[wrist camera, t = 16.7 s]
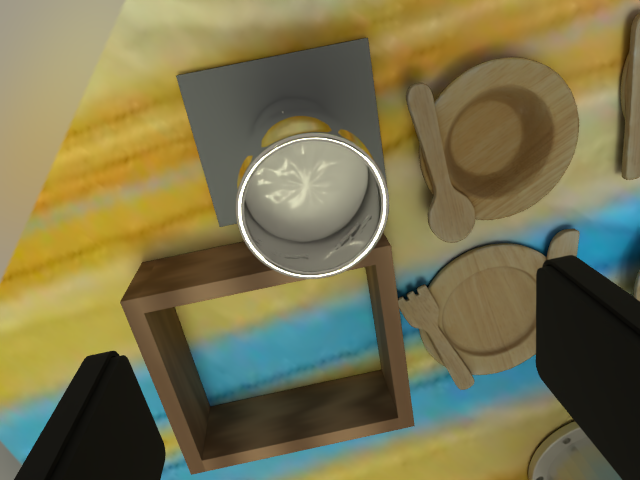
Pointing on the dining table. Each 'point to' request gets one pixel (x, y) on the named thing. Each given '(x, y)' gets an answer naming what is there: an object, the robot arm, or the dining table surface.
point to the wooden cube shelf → (272, 409)
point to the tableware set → (498, 201)
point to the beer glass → (308, 192)
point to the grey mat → (266, 88)
